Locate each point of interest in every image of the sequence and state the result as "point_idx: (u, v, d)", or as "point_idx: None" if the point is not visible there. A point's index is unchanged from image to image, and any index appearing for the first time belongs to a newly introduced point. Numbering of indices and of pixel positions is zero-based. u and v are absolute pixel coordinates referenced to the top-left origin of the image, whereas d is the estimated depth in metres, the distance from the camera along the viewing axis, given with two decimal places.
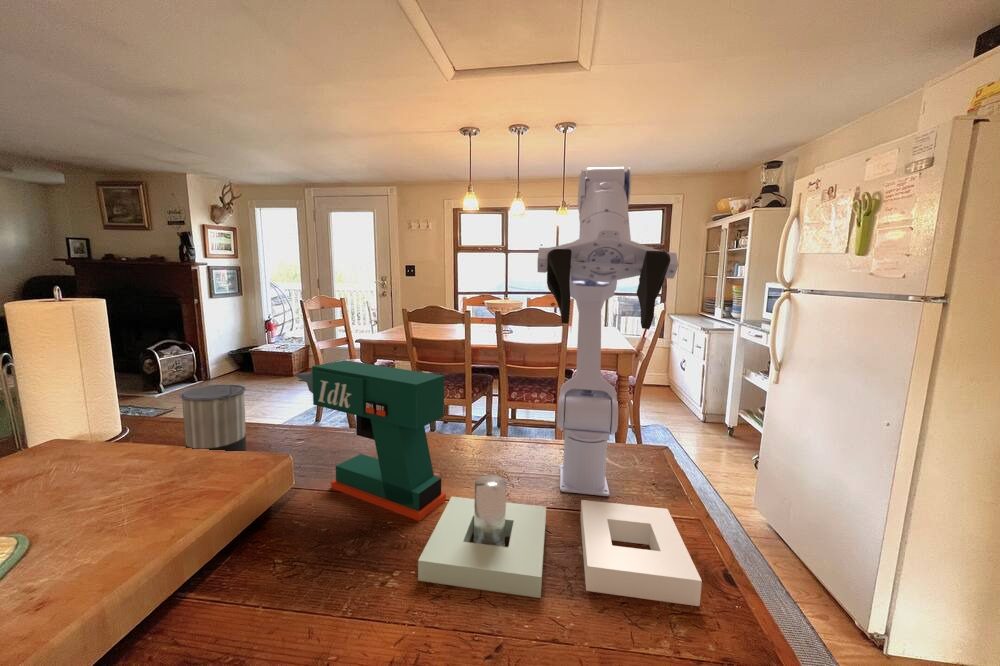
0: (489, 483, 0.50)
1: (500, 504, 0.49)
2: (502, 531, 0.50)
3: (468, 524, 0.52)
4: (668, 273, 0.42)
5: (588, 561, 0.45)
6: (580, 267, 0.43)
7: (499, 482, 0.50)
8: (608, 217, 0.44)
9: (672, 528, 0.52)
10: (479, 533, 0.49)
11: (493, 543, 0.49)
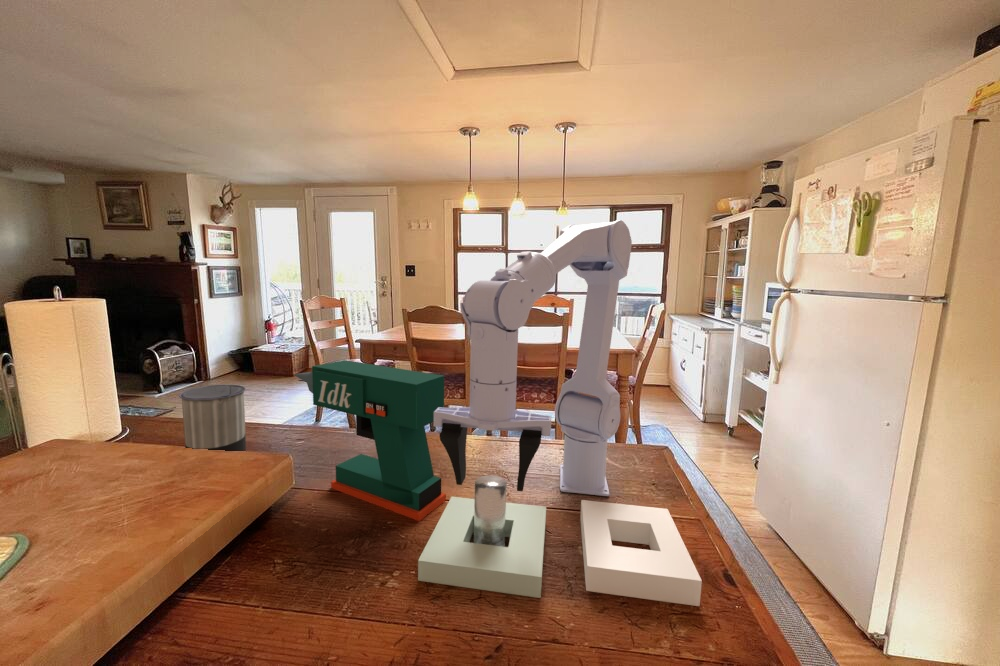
0: (489, 483, 0.50)
1: (500, 504, 0.49)
2: (502, 531, 0.50)
3: (468, 524, 0.52)
4: None
5: (588, 561, 0.45)
6: None
7: (499, 482, 0.50)
8: (489, 393, 0.46)
9: (672, 528, 0.52)
10: (479, 533, 0.49)
11: (493, 543, 0.49)
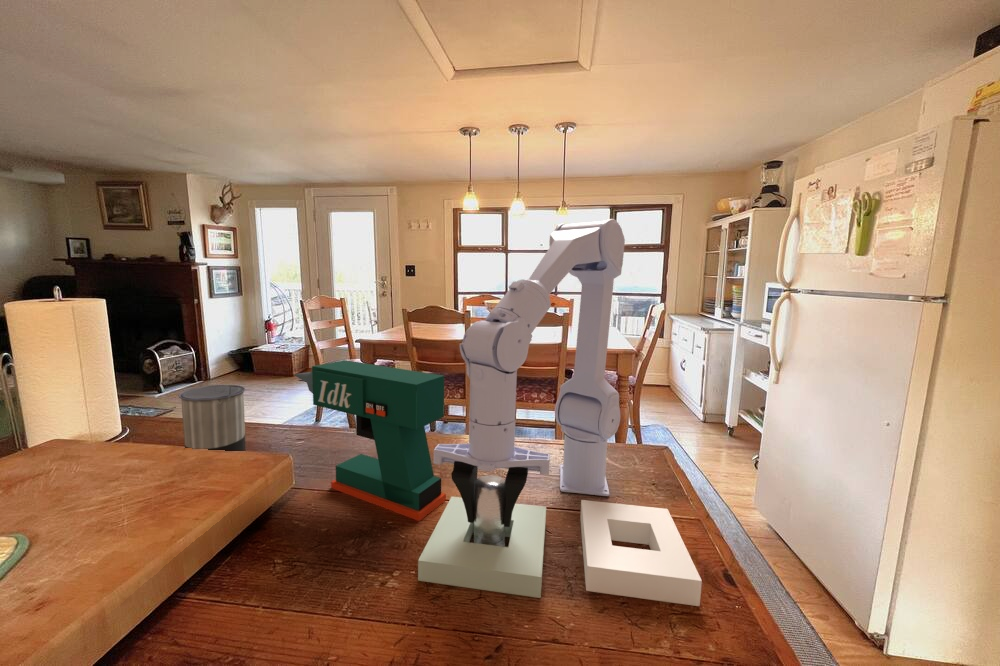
0: (489, 483, 0.50)
1: (500, 504, 0.49)
2: (502, 531, 0.50)
3: (468, 524, 0.52)
4: None
5: (588, 561, 0.45)
6: None
7: (499, 482, 0.50)
8: (488, 434, 0.46)
9: (672, 528, 0.52)
10: (479, 533, 0.49)
11: (493, 543, 0.49)
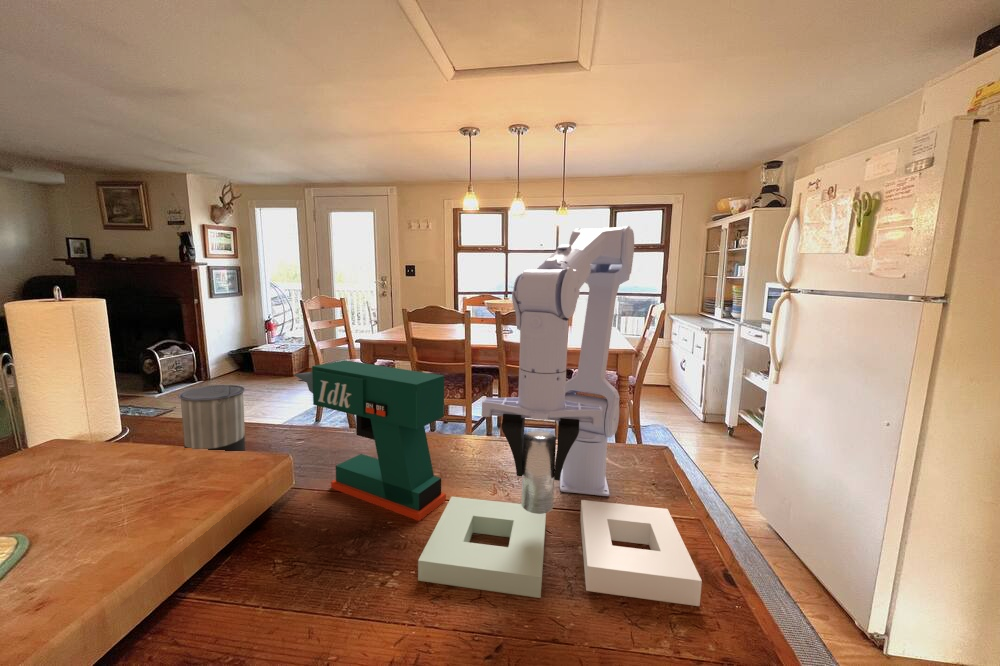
0: (538, 436, 0.49)
1: (550, 458, 0.48)
2: (552, 486, 0.49)
3: (468, 524, 0.52)
4: None
5: (588, 561, 0.45)
6: None
7: (548, 436, 0.49)
8: (541, 382, 0.46)
9: (672, 528, 0.52)
10: (528, 487, 0.48)
11: (543, 497, 0.48)
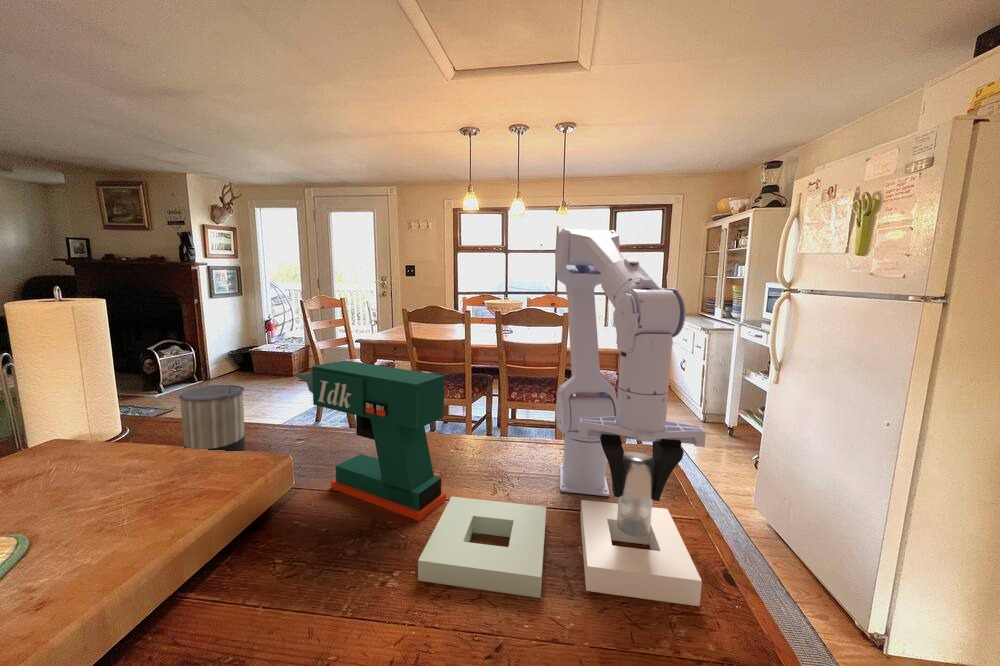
0: (636, 458, 0.49)
1: (651, 480, 0.47)
2: (651, 508, 0.48)
3: (468, 524, 0.52)
4: None
5: (588, 561, 0.45)
6: None
7: (646, 458, 0.49)
8: (647, 403, 0.45)
9: (672, 528, 0.52)
10: (628, 510, 0.48)
11: (643, 520, 0.48)
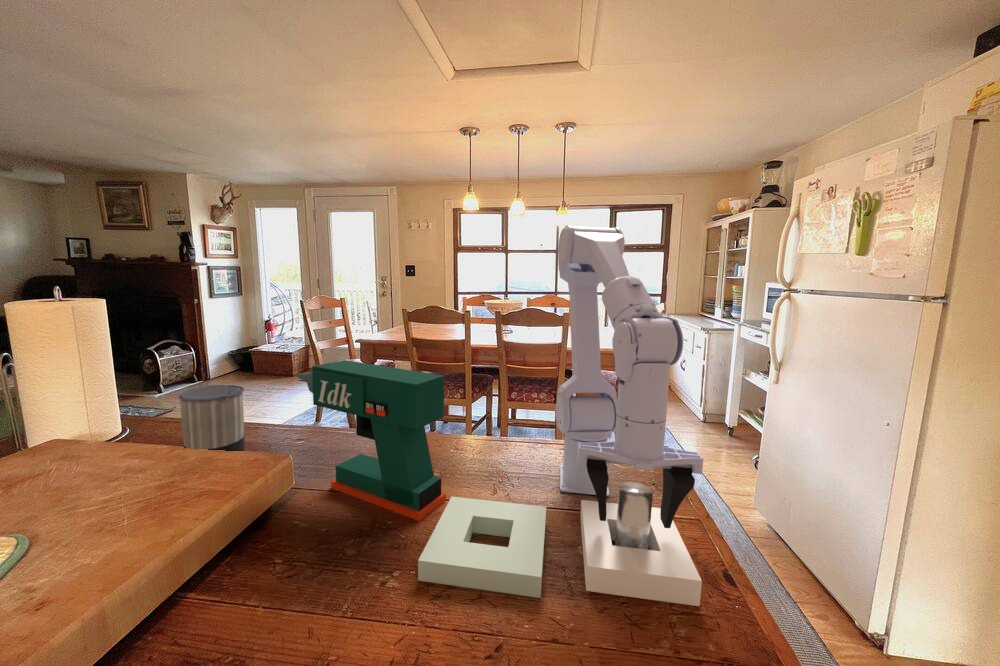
0: (634, 490, 0.49)
1: (649, 512, 0.48)
2: (648, 539, 0.49)
3: (468, 524, 0.52)
4: None
5: (588, 561, 0.45)
6: None
7: (644, 489, 0.49)
8: (645, 432, 0.46)
9: (672, 528, 0.52)
10: (625, 541, 0.48)
11: None
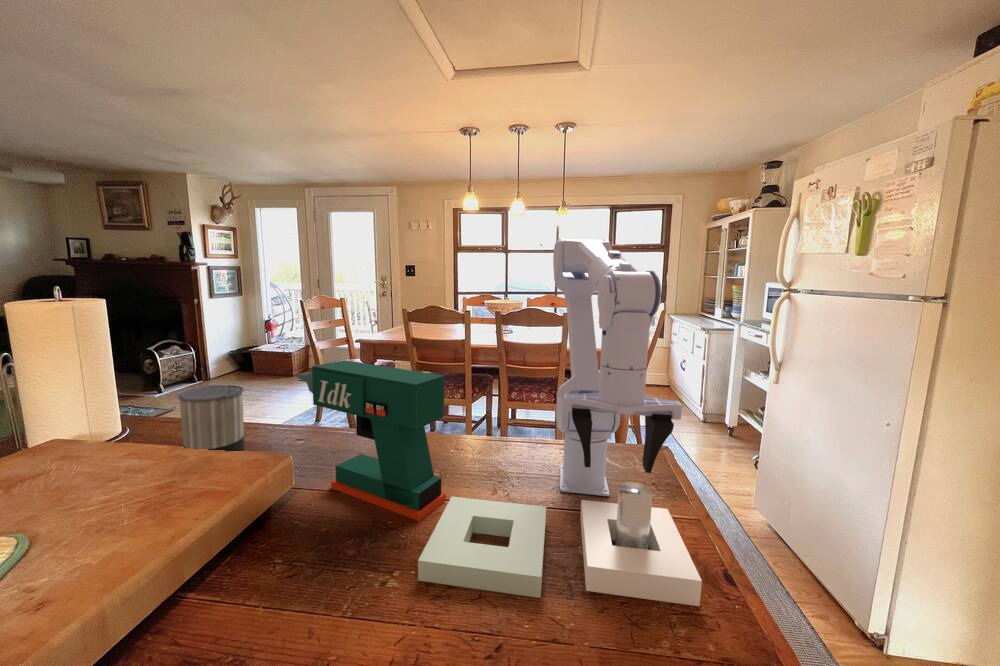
0: (634, 490, 0.49)
1: (649, 512, 0.48)
2: (648, 539, 0.49)
3: (468, 524, 0.52)
4: None
5: (588, 561, 0.45)
6: (599, 411, 0.52)
7: (644, 489, 0.49)
8: (626, 378, 0.48)
9: (672, 528, 0.52)
10: (625, 541, 0.48)
11: None
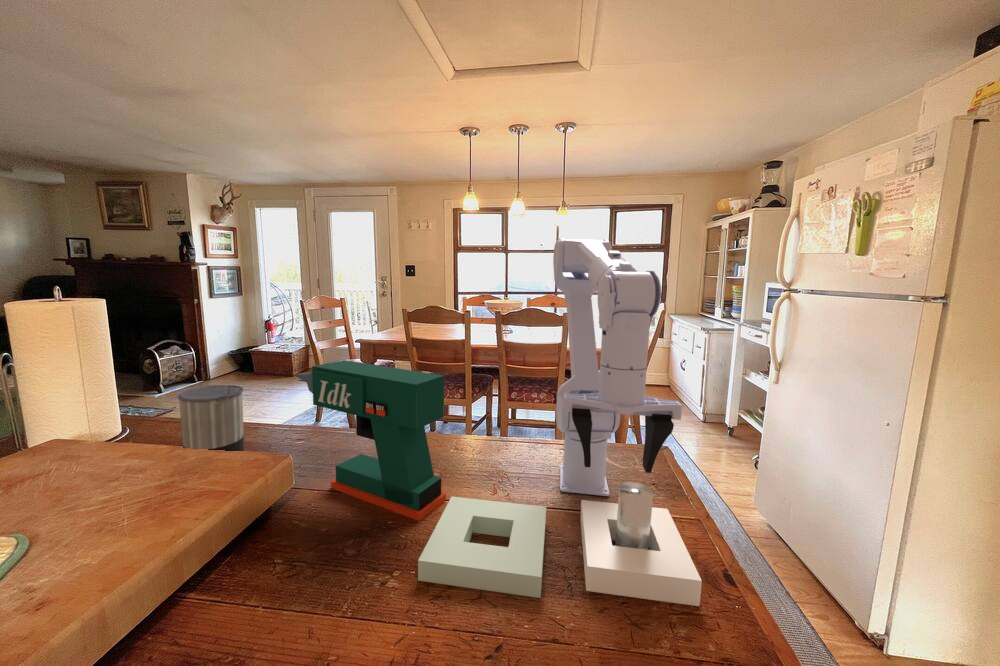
0: (634, 490, 0.49)
1: (649, 512, 0.48)
2: (648, 539, 0.49)
3: (468, 524, 0.52)
4: None
5: (588, 561, 0.45)
6: (599, 411, 0.52)
7: (644, 489, 0.49)
8: (626, 378, 0.48)
9: (672, 528, 0.52)
10: (626, 541, 0.48)
11: None
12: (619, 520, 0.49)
